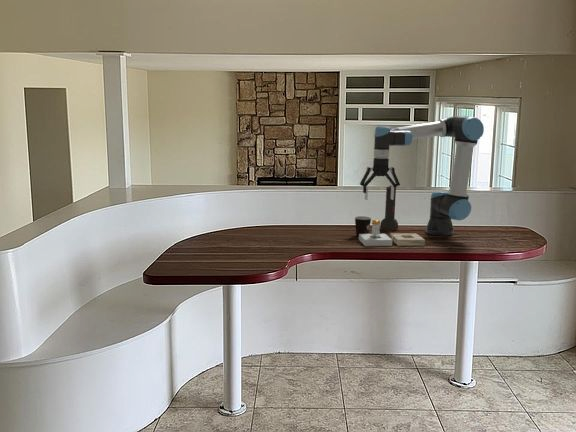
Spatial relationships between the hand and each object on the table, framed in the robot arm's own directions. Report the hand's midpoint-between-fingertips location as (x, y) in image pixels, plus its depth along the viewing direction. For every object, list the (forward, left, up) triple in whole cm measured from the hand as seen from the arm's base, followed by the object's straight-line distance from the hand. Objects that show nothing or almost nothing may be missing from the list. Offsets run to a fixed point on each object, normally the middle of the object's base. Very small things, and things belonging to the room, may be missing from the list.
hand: (379, 199), depth 322 cm
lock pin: (-1, -1, -23) cm, 23 cm away
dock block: (-1, +16, -23) cm, 28 cm away
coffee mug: (-16, -3, -23) cm, 28 cm away
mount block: (-1, -1, -23) cm, 23 cm away
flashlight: (-32, +15, -23) cm, 43 cm away
